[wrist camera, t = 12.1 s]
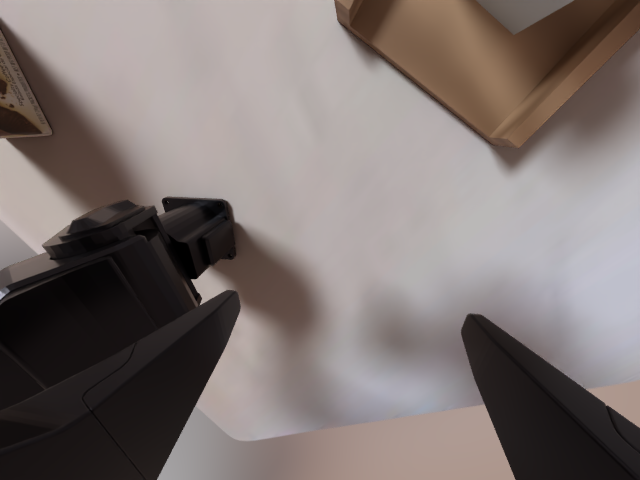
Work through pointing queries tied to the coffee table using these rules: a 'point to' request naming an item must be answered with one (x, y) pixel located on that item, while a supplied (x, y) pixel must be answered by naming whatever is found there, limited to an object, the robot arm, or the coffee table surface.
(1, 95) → the coffee box
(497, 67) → the tray
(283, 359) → the coffee table surface
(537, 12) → the tall block
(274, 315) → the coffee table surface
